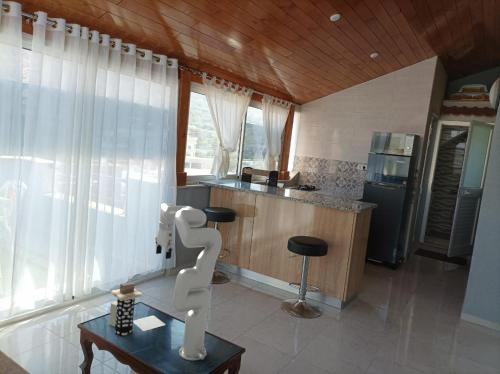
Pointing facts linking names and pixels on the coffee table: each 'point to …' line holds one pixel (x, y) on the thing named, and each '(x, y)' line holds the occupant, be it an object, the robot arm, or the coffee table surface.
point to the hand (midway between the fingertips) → (163, 256)
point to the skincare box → (113, 313)
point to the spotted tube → (124, 317)
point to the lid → (126, 291)
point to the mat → (148, 323)
